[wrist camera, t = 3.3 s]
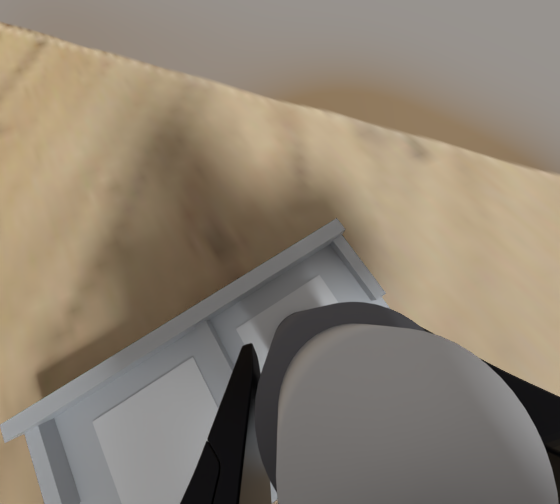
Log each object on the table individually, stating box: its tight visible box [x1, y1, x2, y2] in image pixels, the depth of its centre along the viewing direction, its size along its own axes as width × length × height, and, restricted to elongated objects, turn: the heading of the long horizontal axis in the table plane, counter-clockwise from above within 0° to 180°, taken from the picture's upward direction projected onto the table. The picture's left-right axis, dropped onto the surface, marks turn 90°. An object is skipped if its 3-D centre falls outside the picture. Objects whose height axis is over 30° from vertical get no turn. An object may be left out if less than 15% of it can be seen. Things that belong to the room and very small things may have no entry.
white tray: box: [0, 218, 390, 504], centre depth 14 cm, size 23×12×2 cm, turn 122°
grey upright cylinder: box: [254, 302, 559, 504], centre depth 9 cm, size 5×5×13 cm
